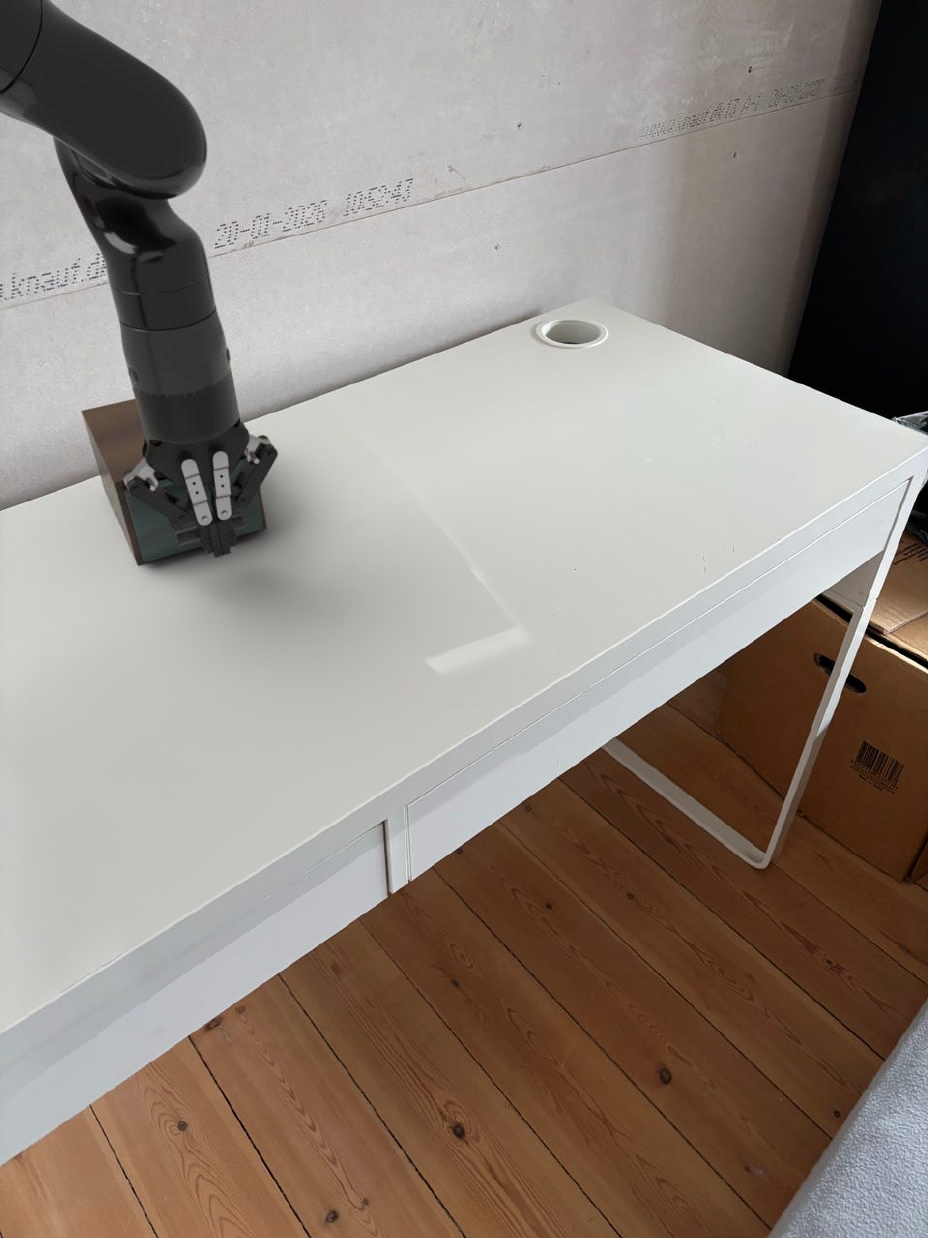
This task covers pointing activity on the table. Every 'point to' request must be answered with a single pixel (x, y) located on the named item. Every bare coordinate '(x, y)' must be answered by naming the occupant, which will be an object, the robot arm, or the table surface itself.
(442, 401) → the table surface
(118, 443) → the cabinet
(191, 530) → the drawer
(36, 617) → the table surface
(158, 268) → the robot arm
